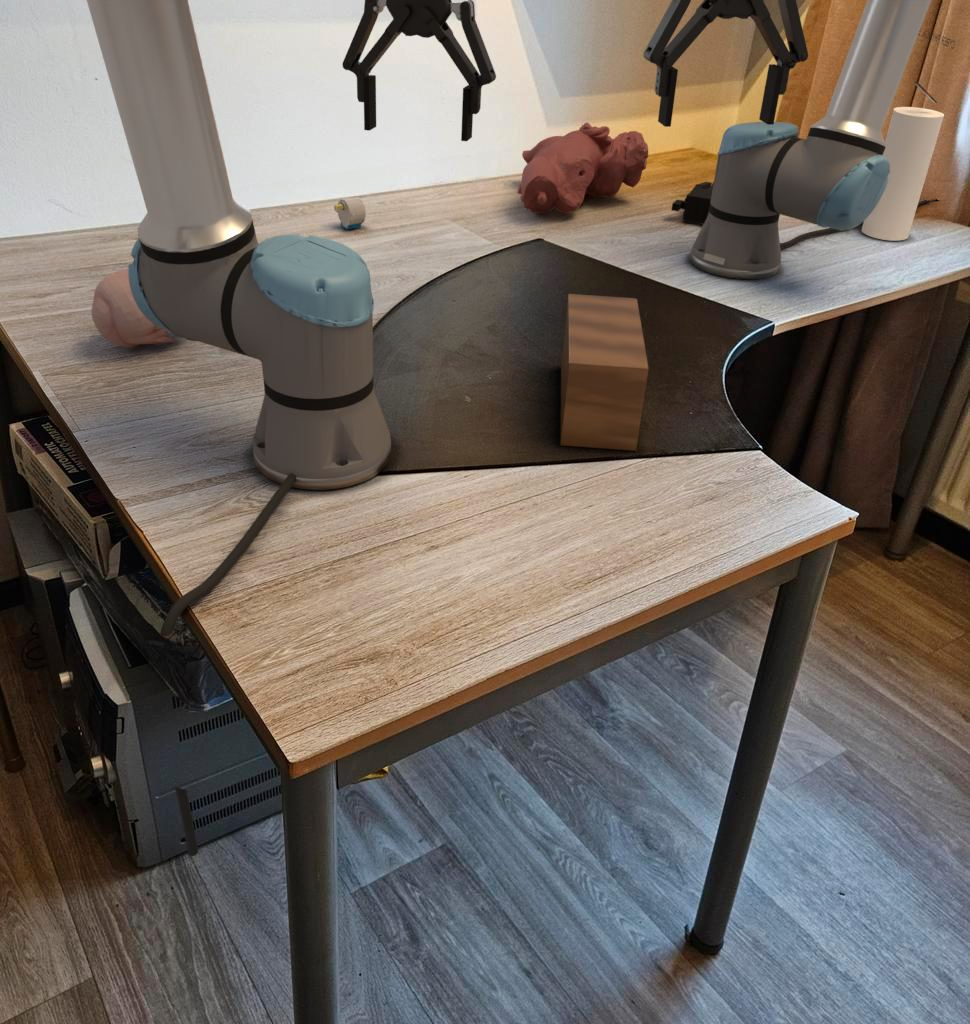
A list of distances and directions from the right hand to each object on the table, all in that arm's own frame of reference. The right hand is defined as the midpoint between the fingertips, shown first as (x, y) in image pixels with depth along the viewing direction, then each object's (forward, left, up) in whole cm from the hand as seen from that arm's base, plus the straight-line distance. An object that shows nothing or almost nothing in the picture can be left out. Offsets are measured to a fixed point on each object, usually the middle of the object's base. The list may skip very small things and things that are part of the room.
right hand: (715, 123), depth 121 cm
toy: (-69, -20, -30) cm, 77 cm away
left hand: (+12, -37, -5) cm, 39 cm away
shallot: (+43, -60, -30) cm, 79 cm away
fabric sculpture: (-51, -42, -30) cm, 73 cm away
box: (+25, -1, -30) cm, 39 cm away
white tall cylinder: (-72, +13, -30) cm, 79 cm away
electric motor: (-11, -68, -30) cm, 75 cm away
